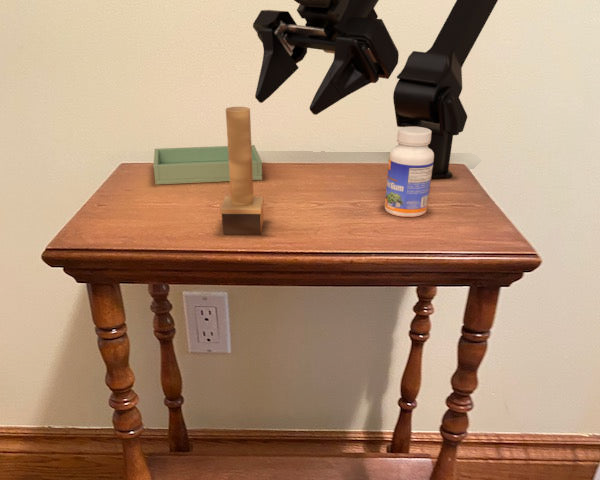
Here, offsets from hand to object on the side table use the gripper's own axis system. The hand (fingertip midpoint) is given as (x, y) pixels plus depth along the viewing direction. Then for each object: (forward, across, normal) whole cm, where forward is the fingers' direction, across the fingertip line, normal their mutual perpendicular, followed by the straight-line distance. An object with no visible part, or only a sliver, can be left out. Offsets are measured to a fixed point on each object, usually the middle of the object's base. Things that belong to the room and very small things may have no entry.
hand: (284, 105), depth 71 cm
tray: (+6, -22, +12) cm, 26 cm away
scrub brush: (+14, 0, +4) cm, 14 cm away
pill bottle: (0, +9, +18) cm, 20 cm away
